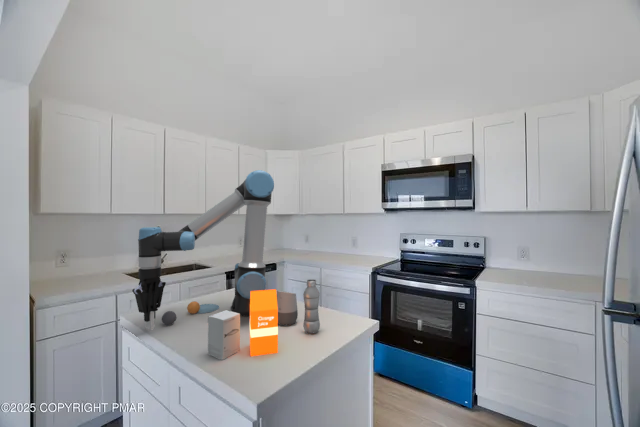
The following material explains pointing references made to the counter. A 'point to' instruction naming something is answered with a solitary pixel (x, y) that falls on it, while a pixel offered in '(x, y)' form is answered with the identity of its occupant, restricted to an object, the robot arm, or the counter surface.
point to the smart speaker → (287, 308)
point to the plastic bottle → (311, 307)
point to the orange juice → (263, 322)
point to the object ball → (193, 307)
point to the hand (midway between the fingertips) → (149, 328)
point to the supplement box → (223, 334)
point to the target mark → (207, 308)
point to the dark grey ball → (169, 318)
